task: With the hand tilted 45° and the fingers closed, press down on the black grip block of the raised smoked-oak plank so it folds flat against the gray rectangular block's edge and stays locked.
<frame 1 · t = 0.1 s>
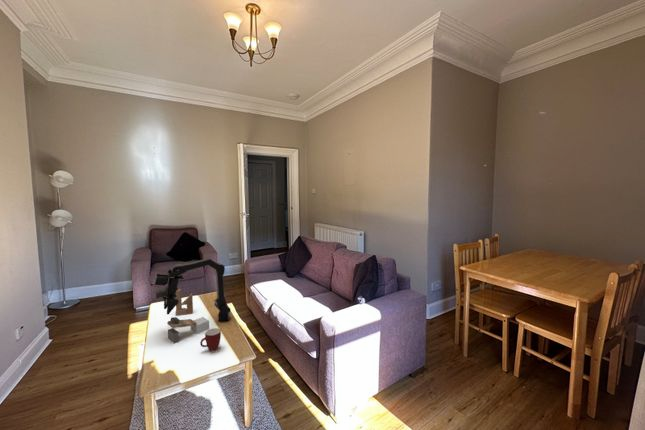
hand: (166, 311, 161), 15 cm above the table, tool pointing down, fingers open, 9 cm apart
plank: (182, 321, 162), point 9 cm above the table, hinge at 15.0°
mug: (211, 350, 149), on the table
wooden block: (184, 313, 192), on the table
gray rectangular block: (193, 331, 167), on the table
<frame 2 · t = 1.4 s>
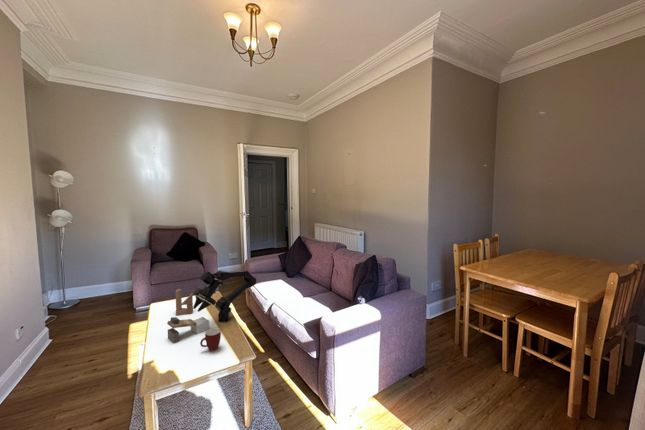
hand: (195, 310, 168), 14 cm above the table, tool tilted 45°, fingers open, 6 cm apart
nothing on the table moved.
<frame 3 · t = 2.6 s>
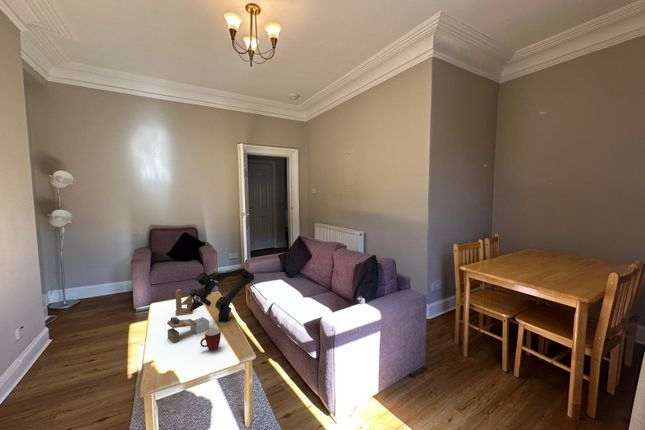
hand: (190, 311, 165), 14 cm above the table, tool tilted 45°, fingers closed
nothing on the table moved.
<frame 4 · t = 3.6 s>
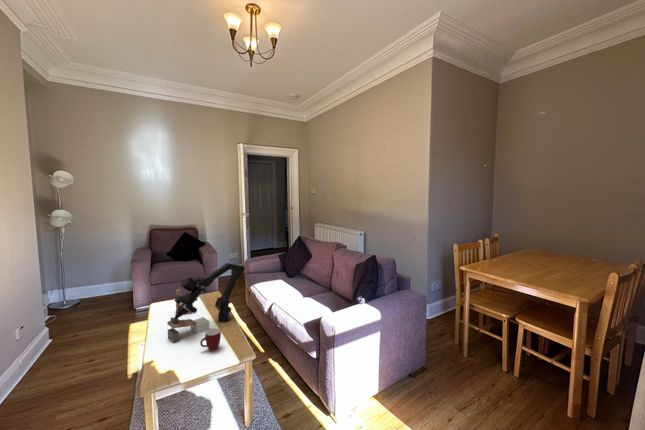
hand: (175, 318, 158), 13 cm above the table, tool tilted 45°, fingers closed, pressing on plank
plank: (182, 321, 162), point 9 cm above the table, hinge at 14.6°, touching gripper
everything else where it was.
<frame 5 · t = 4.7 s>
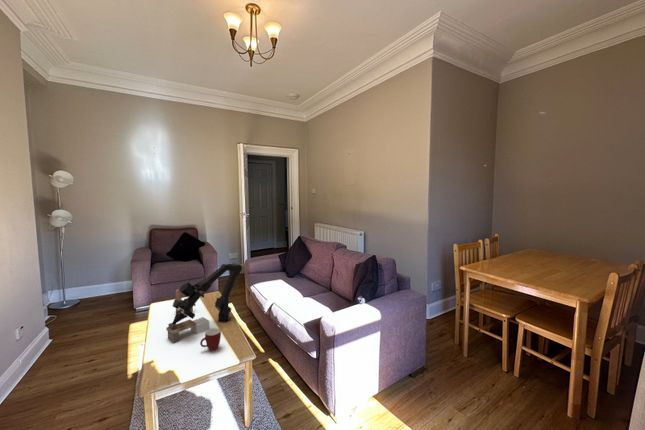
hand: (173, 323, 158), 10 cm above the table, tool tilted 45°, fingers closed, pressing on plank
plank: (181, 324, 161), point 8 cm above the table, hinge at 0.1°, touching gripper
everything else where it was.
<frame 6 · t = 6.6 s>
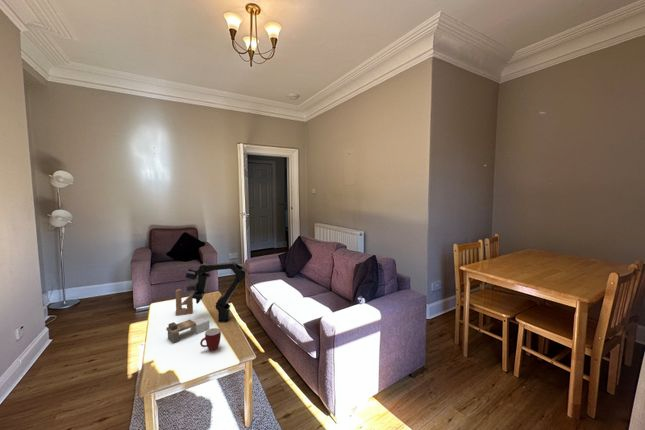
hand: (197, 303, 182), 12 cm above the table, tool pointing down, fingers closed
plank: (181, 324, 161), point 7 cm above the table, hinge at 0.0°, touching gray rectangular block
everything else where it was.
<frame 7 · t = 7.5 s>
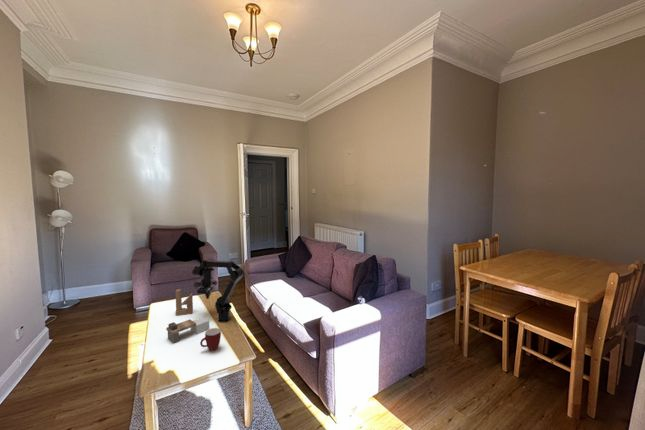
hand: (207, 298, 187), 13 cm above the table, tool pointing down, fingers closed
nothing on the table moved.
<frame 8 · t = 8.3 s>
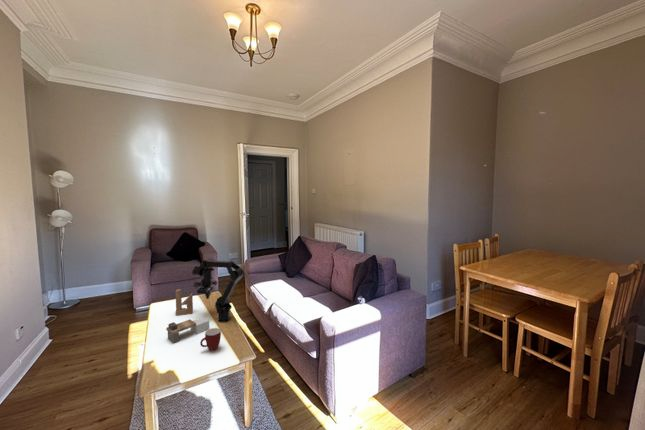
hand: (207, 298, 187), 13 cm above the table, tool pointing down, fingers closed
nothing on the table moved.
at the end: plank at +0° (first picture: +15°) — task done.
